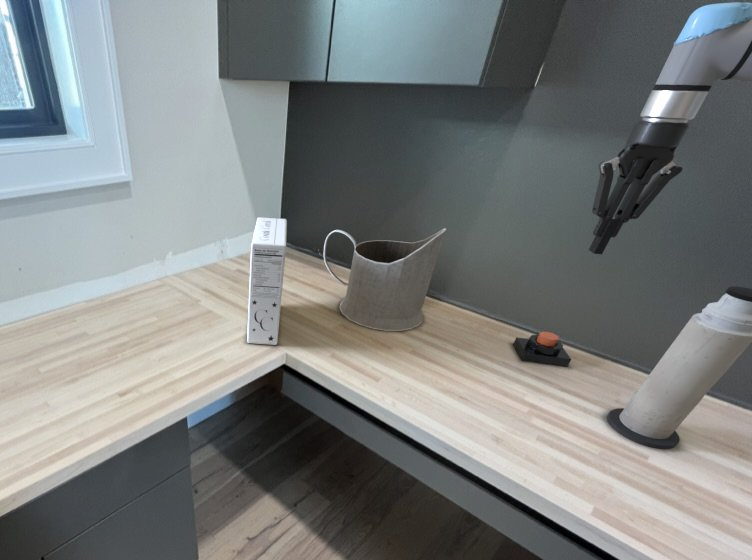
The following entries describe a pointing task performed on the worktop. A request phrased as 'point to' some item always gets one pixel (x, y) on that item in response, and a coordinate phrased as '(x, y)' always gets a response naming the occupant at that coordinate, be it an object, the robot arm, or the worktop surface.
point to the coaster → (647, 441)
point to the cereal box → (266, 280)
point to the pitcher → (389, 281)
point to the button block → (541, 352)
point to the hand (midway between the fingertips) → (595, 251)
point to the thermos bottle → (692, 365)
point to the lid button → (547, 339)
